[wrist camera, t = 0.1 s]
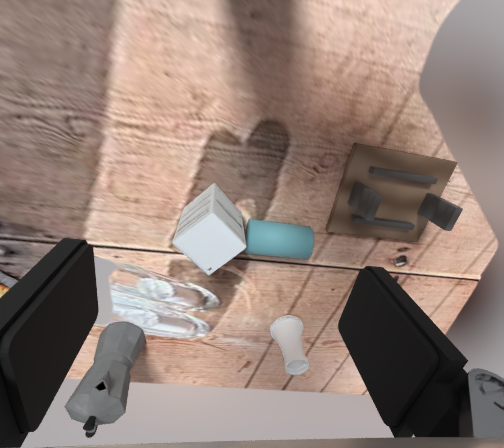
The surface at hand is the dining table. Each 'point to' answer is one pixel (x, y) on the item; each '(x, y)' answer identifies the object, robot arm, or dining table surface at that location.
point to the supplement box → (210, 230)
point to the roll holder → (392, 194)
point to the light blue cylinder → (279, 239)
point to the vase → (290, 343)
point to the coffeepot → (107, 377)
